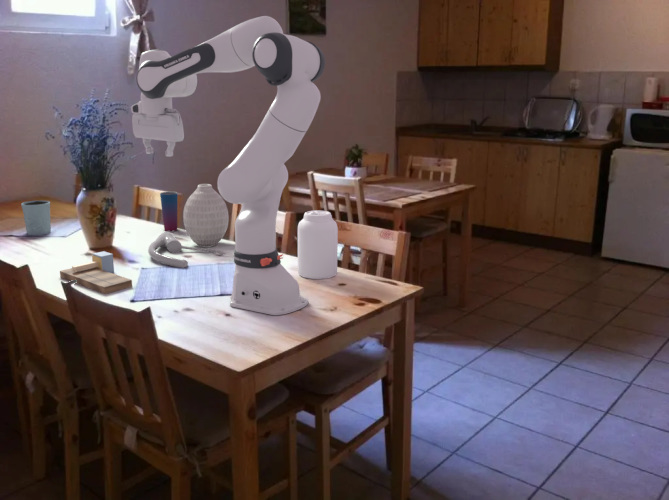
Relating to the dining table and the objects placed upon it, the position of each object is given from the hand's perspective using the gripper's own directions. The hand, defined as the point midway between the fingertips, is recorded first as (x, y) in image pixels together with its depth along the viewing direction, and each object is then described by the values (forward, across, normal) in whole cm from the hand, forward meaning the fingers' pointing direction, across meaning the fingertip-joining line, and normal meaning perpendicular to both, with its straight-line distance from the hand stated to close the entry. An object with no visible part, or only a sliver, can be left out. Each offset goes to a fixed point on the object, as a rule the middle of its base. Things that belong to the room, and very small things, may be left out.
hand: (159, 155), depth 192 cm
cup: (+37, +47, -38) cm, 71 cm away
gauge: (+37, +16, +16) cm, 43 cm away
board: (+37, +9, +19) cm, 43 cm away
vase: (+37, +18, -32) cm, 52 cm away
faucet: (+38, +12, -17) cm, 43 cm away
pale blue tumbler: (+37, +81, -1) cm, 89 cm away
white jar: (+37, -36, -31) cm, 60 cm away
